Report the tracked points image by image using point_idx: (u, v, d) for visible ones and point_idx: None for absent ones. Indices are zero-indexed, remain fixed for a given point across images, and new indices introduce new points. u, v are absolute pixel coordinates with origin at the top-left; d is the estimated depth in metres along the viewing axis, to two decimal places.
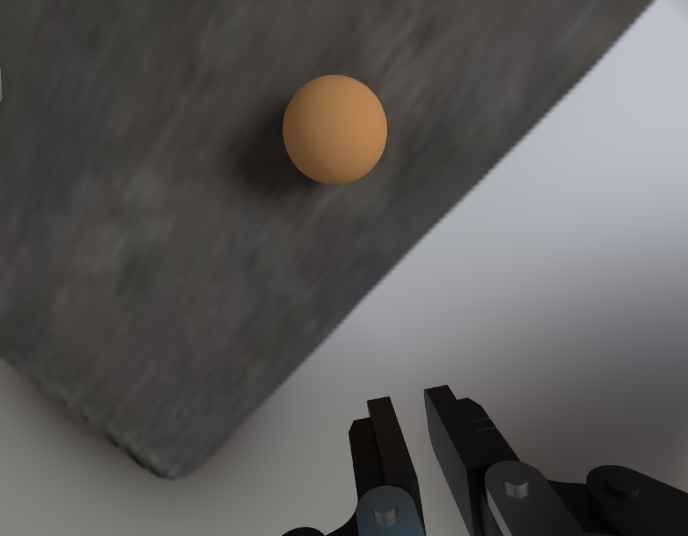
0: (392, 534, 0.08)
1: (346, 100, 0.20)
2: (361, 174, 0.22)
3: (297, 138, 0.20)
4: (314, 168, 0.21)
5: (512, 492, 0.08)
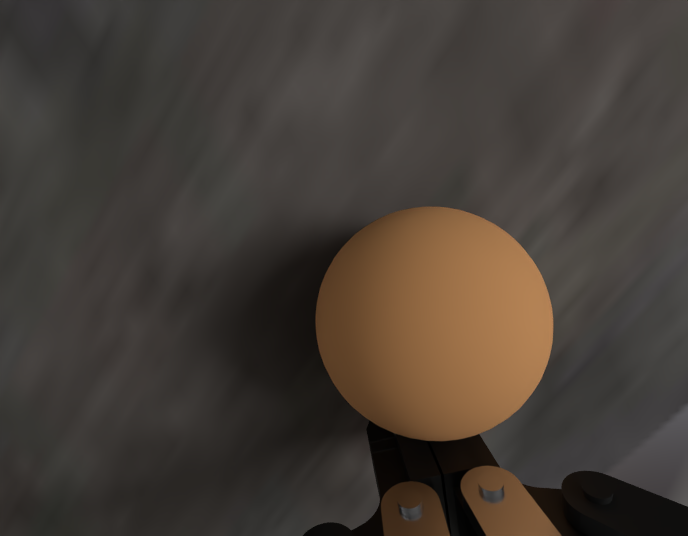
0: (416, 530, 0.08)
1: (451, 216, 0.09)
2: (516, 394, 0.08)
3: (344, 303, 0.09)
4: (388, 374, 0.08)
5: (487, 498, 0.08)
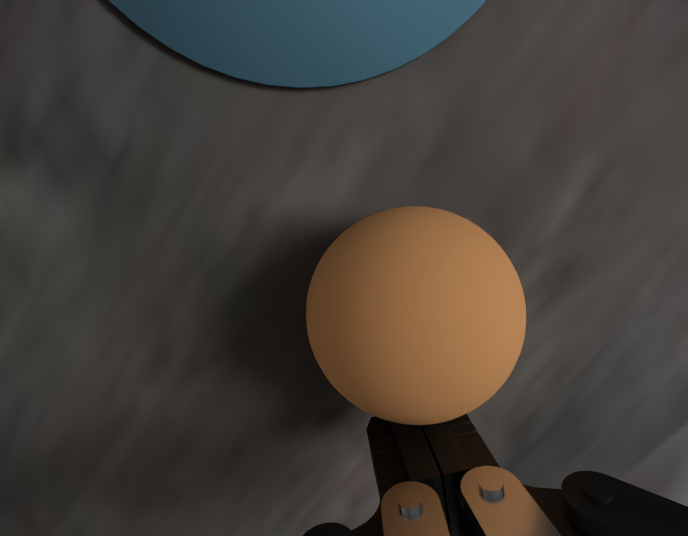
0: (416, 530, 0.08)
1: None
2: (488, 277, 0.09)
3: (325, 256, 0.10)
4: (364, 266, 0.09)
5: (487, 498, 0.08)
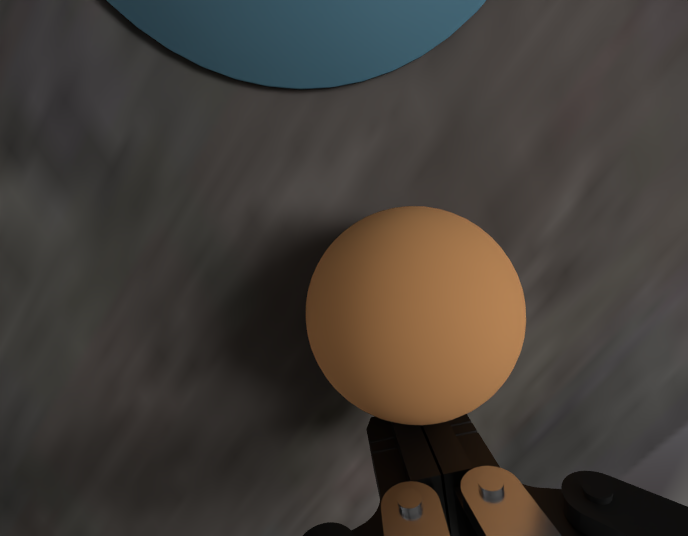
0: (416, 530, 0.08)
1: None
2: (487, 277, 0.09)
3: (325, 256, 0.10)
4: (363, 267, 0.09)
5: (487, 498, 0.08)
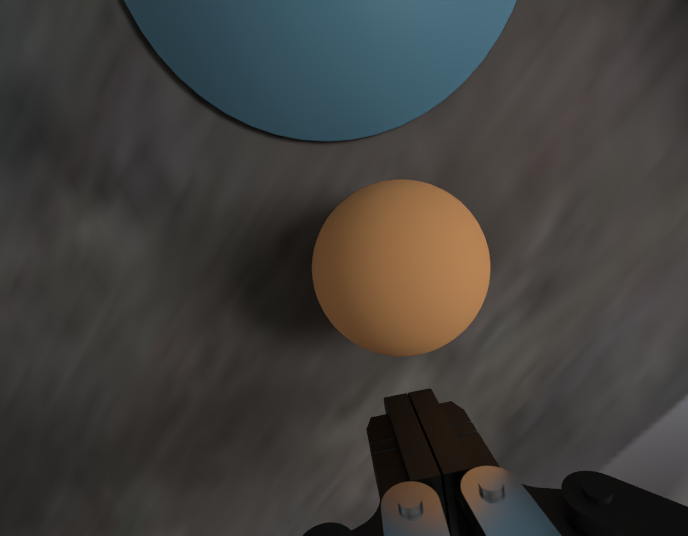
0: (416, 530, 0.08)
1: None
2: (432, 189, 0.12)
3: None
4: (346, 198, 0.13)
5: (487, 498, 0.08)
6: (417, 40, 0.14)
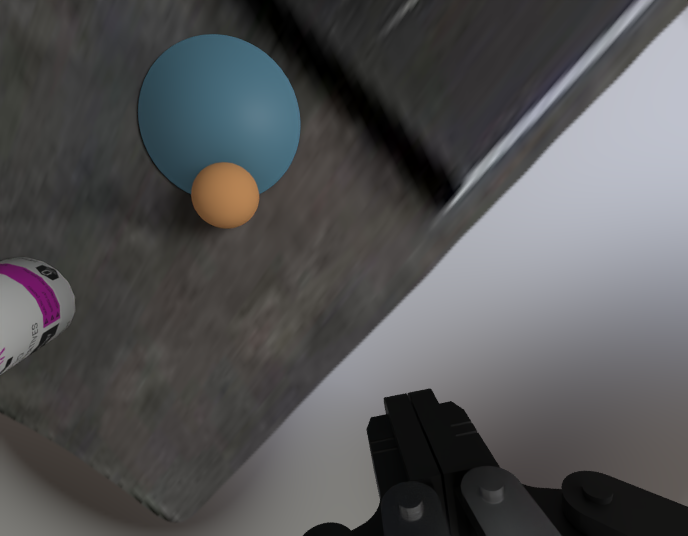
0: (416, 530, 0.08)
1: None
2: None
3: None
4: None
5: (487, 498, 0.08)
6: (259, 164, 0.38)
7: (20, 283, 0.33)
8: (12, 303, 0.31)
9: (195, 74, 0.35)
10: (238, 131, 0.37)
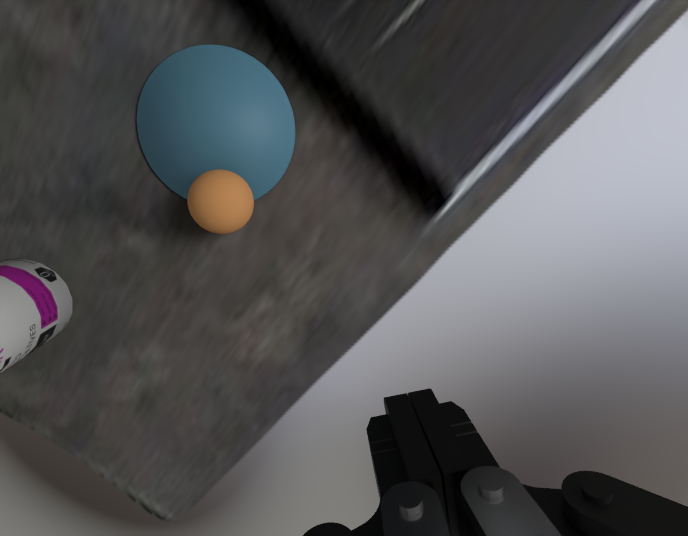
0: (416, 529, 0.08)
1: (242, 226, 0.37)
2: None
3: None
4: None
5: (487, 498, 0.08)
6: (255, 171, 0.38)
7: (19, 285, 0.34)
8: (11, 305, 0.32)
9: (193, 83, 0.36)
10: (234, 139, 0.38)
